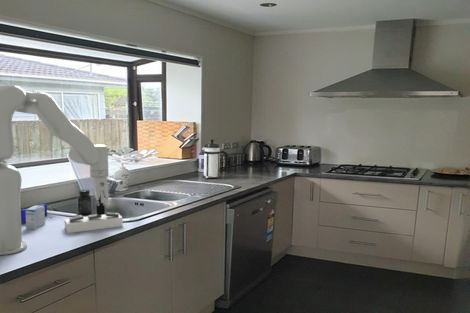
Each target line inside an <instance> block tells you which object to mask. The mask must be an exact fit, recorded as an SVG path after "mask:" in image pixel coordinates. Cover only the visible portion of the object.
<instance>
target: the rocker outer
mask: <svg viewBox="0 0 470 313" xmlns="http://www.w3.org/2000/svg"><path fill="white" fill-rule="evenodd" d="M104 215H106V216H112V217H119V215H120V213H119V212H111V211H110V212H108V211H107V212H106V211H105V214H104Z"/></svg>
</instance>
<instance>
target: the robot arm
mask: <svg viewBox="0 0 470 313" xmlns="http://www.w3.org/2000/svg"><path fill="white" fill-rule="evenodd" d="M16 112H17V113H21V114H22V113H23V114H30V115H36V116H37V117H38V118H39V119H40V120H41V122H42V123H43V125H44V126H45V127H46V128H47V130H49V132H50V134H52V135H53V136H54V137H56V138H57V139H58V140H61V141H63V142H65V143H66V144H67V145H69V146H70V147H71V148H70V149H69V151H68V157H69V160H71V161H72V162H73V163H77V164H80V165H81V164H82V165H85V166H89V172H90V173H89V176H90V178H92V193H93V194H92V195H93V197H94V198H95V200H96V214H97V215H105V213H106V210H105V209H106V208H105V206H106V205H105V199H106V200H109V198H110V197H109V196H110V195H109V184H108V177H109V149H108V146H107V145H106V144H94V143H93V142H92V140H91V139H90V138H89V137H88V135H87V134H86V133H84V132H83V131H82V130H81V129H80V128H79V127H78V126H76V125H75V124H74V123H73V122H72V121H71V120H70V119H69V117H68V116H67V114H66V113H65V112H64V110H63V109H62V108H61V107H60V105H59V104H58V103H57V101H56V100H55V98H53V96H51V94H49V93H46V92H32V91H25V90H24V89H23V88H22V87H21V86H18V85H14V84H13V85H12V84H10V85H9V84H8V85H7V84H6V85H0V256H6V255H12V254H13V255H14V254H16V253H17V254H18V253H19V252H20V253H21V252H22V251H24V250H26V248H27V247H28V246H27V245H28V244H27V242H25V241H23V237H22V235H23V234H22V222H21V210H22V209H21V189H22V175H21V173H20V171H19V170H18V168H16V167H15V166H13V165H11V164H8V163H7V161H8V160H10V159H11V158H12V157H13V156H14V153H15V147H16V146H15V141H14V135H13V134H14V133H13V132H14V131H13V122H12V121H13V116H14V114H15V113H16Z"/></svg>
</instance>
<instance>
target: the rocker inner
mask: <svg viewBox="0 0 470 313" xmlns="http://www.w3.org/2000/svg"><path fill="white" fill-rule="evenodd" d="M83 217H84V216H82V215H75V216H72V217H71V216H70V217H69V218H68V219H69V220H70V222H73V221H77V220H81V219H83Z"/></svg>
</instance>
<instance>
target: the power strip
mask: <svg viewBox="0 0 470 313" xmlns="http://www.w3.org/2000/svg"><path fill="white" fill-rule="evenodd" d="M118 227H123V217H122V215H121V214H119V217H112V216H106V215H105V214H101V218H95V219H88V215H87V216H83V219H81V220H77V221H73V222H70V220H69V218H64V229H65V231H66V233H67V234H70V233H71V234H72V233H78V232H87V231H95V230H103V229H111V228H118Z"/></svg>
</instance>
